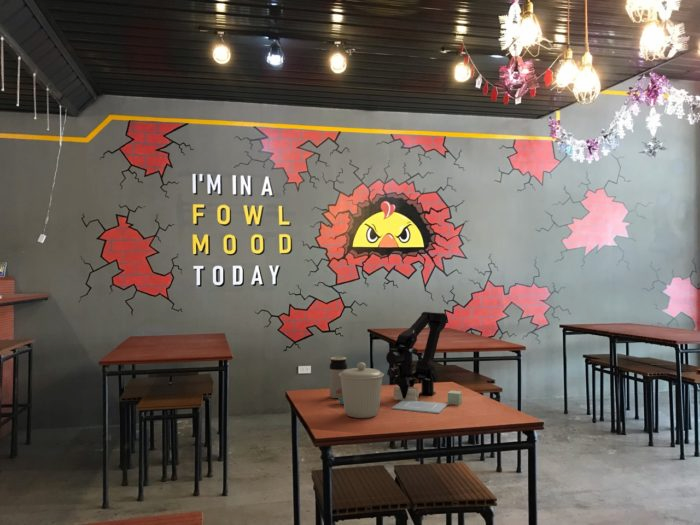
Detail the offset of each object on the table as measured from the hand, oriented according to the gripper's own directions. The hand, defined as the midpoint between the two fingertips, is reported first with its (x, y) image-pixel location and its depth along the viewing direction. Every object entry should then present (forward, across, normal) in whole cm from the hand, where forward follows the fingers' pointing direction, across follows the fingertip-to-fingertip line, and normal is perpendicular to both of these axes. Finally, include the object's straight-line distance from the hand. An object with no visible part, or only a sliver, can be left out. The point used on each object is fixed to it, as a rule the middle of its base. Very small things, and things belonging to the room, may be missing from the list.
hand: (406, 396), depth 250 cm
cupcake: (+1, +18, -22) cm, 28 cm away
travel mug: (+1, +8, -30) cm, 31 cm away
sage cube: (+1, 0, +22) cm, 22 cm away
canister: (+1, +34, -8) cm, 35 cm away
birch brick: (+1, 0, 0) cm, 1 cm away
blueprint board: (+1, +12, +10) cm, 16 cm away
